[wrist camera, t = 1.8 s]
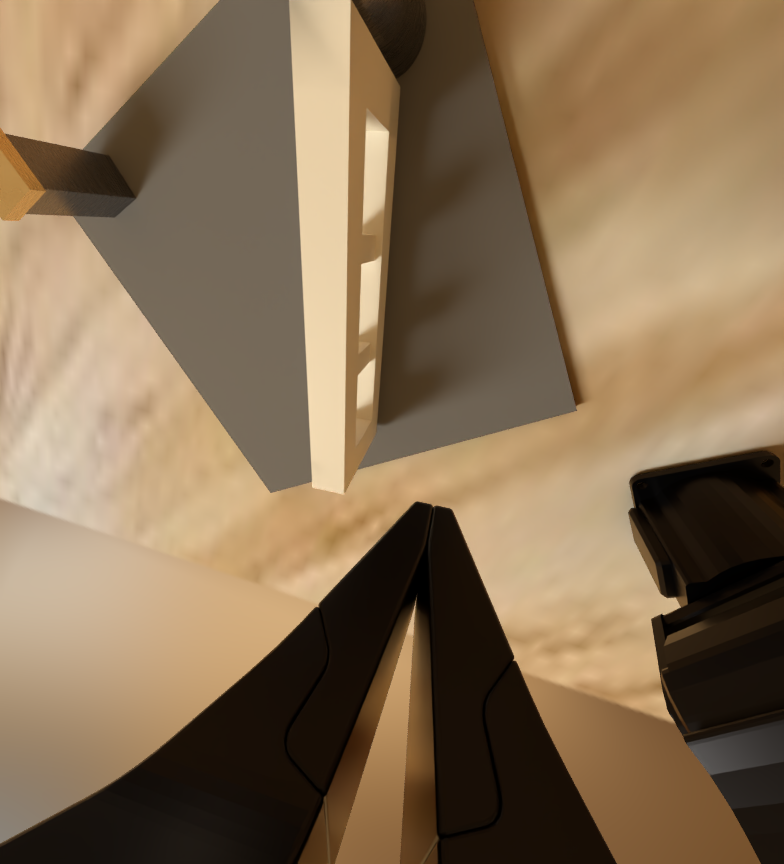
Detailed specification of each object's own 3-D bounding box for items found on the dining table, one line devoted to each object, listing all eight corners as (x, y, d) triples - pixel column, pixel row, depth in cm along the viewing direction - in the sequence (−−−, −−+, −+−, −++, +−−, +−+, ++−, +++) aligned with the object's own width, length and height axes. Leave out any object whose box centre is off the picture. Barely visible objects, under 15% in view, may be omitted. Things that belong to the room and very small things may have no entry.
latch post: (117, 150, 18) (-23, 118, 13) (149, 201, 19) (30, 189, 14) (92, 176, 19) (-48, 156, 14) (123, 223, 19) (2, 220, 15)
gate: (361, 86, 14) (288, -2, 9) (400, 87, 13) (350, -2, 8) (352, 428, 22) (312, 487, 17) (376, 432, 21) (343, 494, 16)
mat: (421, -199, 11) (418, -217, 10) (574, 406, 19) (576, 410, 18) (60, 185, 19) (50, 184, 19) (273, 488, 27) (270, 492, 27)
